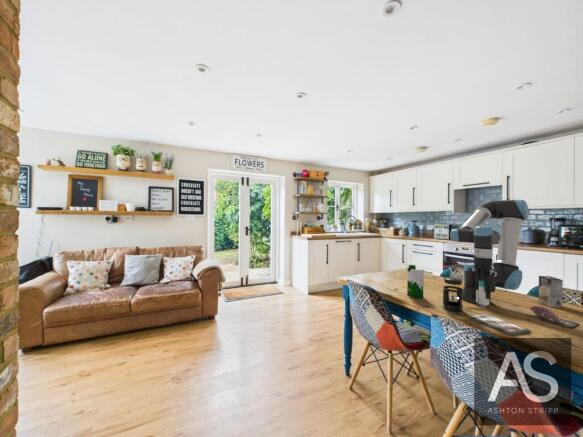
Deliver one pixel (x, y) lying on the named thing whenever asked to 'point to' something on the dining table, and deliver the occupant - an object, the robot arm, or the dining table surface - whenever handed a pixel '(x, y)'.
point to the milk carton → (415, 281)
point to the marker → (481, 293)
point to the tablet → (499, 324)
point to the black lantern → (451, 304)
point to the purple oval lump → (547, 313)
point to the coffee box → (550, 291)
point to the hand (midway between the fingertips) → (482, 303)
